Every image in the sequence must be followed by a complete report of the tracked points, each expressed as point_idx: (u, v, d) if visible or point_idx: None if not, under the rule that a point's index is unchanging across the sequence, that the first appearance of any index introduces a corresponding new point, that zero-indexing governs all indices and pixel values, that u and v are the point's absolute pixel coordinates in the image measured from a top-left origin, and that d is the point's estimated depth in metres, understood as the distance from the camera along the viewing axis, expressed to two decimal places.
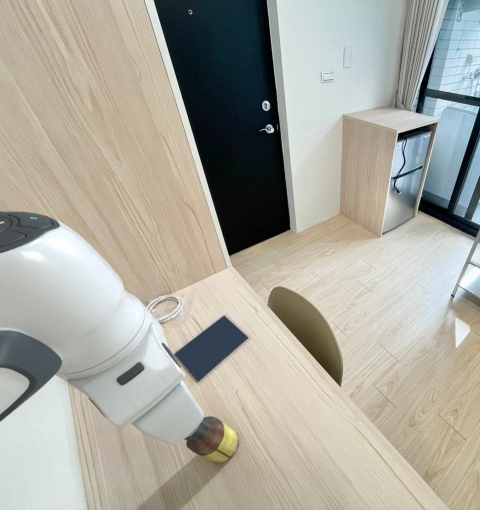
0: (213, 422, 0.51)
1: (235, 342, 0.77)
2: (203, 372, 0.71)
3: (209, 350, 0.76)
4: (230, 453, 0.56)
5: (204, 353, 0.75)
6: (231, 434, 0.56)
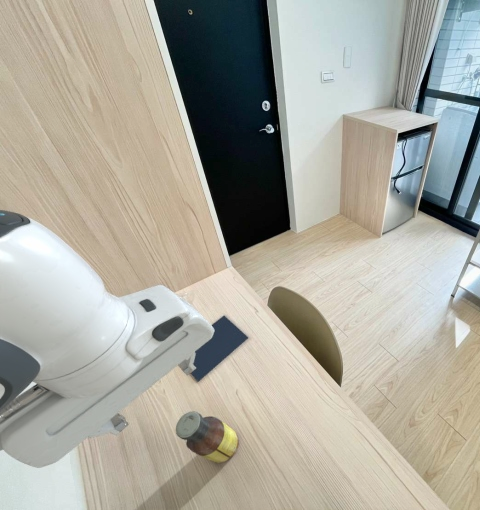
0: (213, 422, 0.51)
1: (235, 342, 0.77)
2: (203, 372, 0.71)
3: (209, 350, 0.76)
4: (230, 453, 0.56)
5: (204, 353, 0.75)
6: (231, 434, 0.56)
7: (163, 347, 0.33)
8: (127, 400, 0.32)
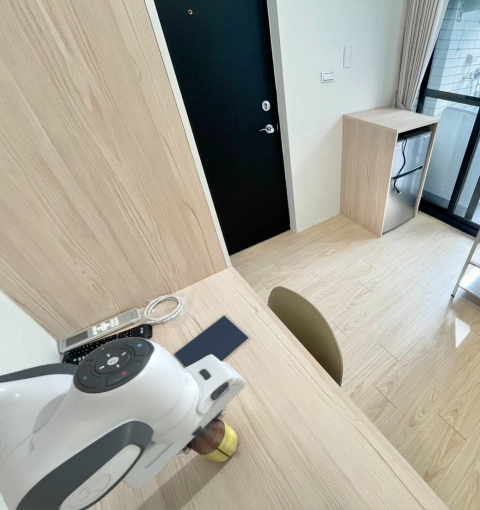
0: (214, 421, 0.51)
1: (235, 342, 0.77)
2: None
3: (209, 350, 0.76)
4: (230, 453, 0.56)
5: (204, 353, 0.75)
6: (231, 434, 0.56)
7: None
8: (189, 439, 0.45)
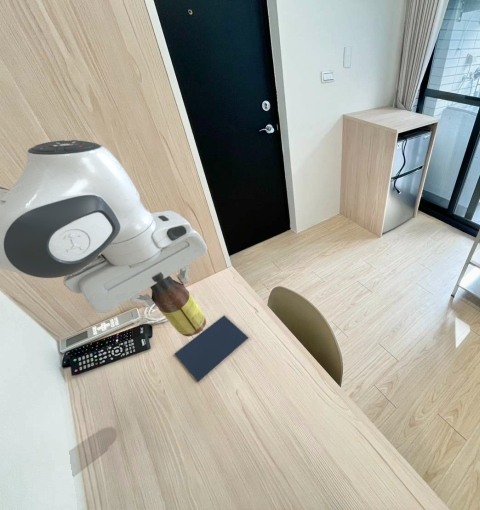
0: (178, 282, 0.54)
1: (235, 342, 0.77)
2: (203, 372, 0.71)
3: (209, 350, 0.76)
4: (196, 325, 0.60)
5: (204, 353, 0.75)
6: (197, 307, 0.60)
7: (173, 250, 0.50)
8: (150, 282, 0.48)
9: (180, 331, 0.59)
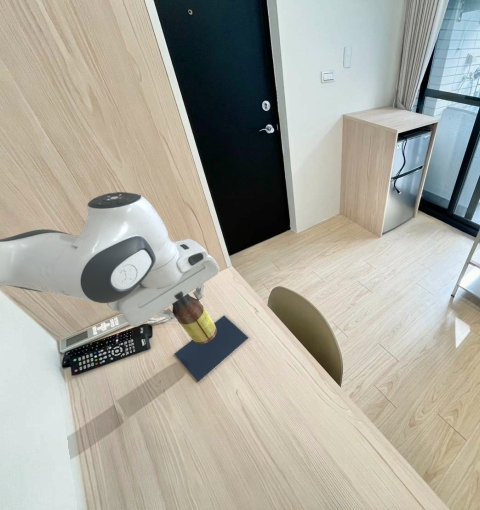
0: (194, 298, 0.64)
1: (235, 342, 0.77)
2: (203, 372, 0.71)
3: (209, 350, 0.76)
4: (208, 334, 0.69)
5: (204, 353, 0.75)
6: (210, 318, 0.69)
7: (191, 272, 0.59)
8: (172, 300, 0.58)
9: (195, 339, 0.69)
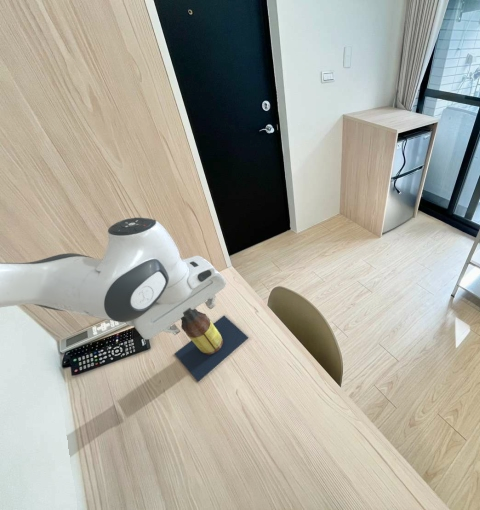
0: (201, 313, 0.68)
1: (235, 342, 0.77)
2: (203, 372, 0.71)
3: None
4: (215, 345, 0.73)
5: (204, 353, 0.75)
6: (216, 330, 0.73)
7: (200, 287, 0.63)
8: (182, 314, 0.62)
9: (202, 350, 0.73)
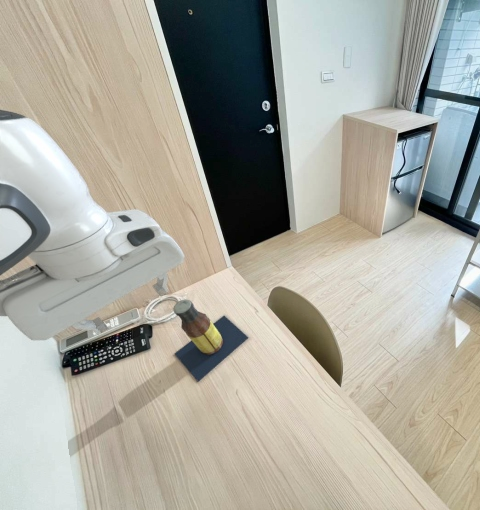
0: (201, 313, 0.68)
1: (235, 342, 0.77)
2: (203, 372, 0.71)
3: None
4: (215, 345, 0.73)
5: (204, 353, 0.75)
6: (216, 330, 0.73)
7: (138, 259, 0.40)
8: (107, 300, 0.38)
9: (202, 350, 0.73)
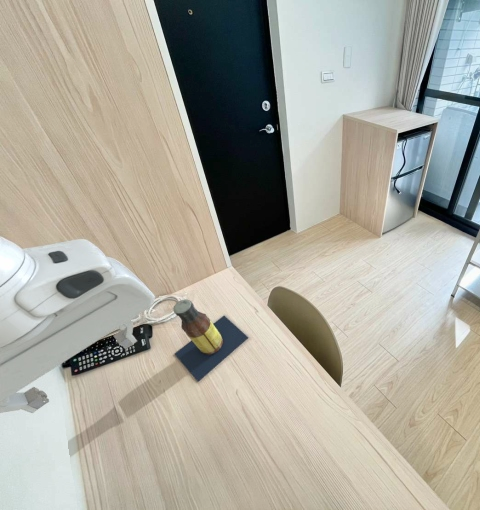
0: (201, 313, 0.68)
1: (235, 342, 0.77)
2: (203, 372, 0.71)
3: None
4: (215, 345, 0.73)
5: (204, 353, 0.75)
6: (216, 330, 0.73)
7: (83, 310, 0.28)
8: (39, 370, 0.27)
9: (202, 350, 0.73)
